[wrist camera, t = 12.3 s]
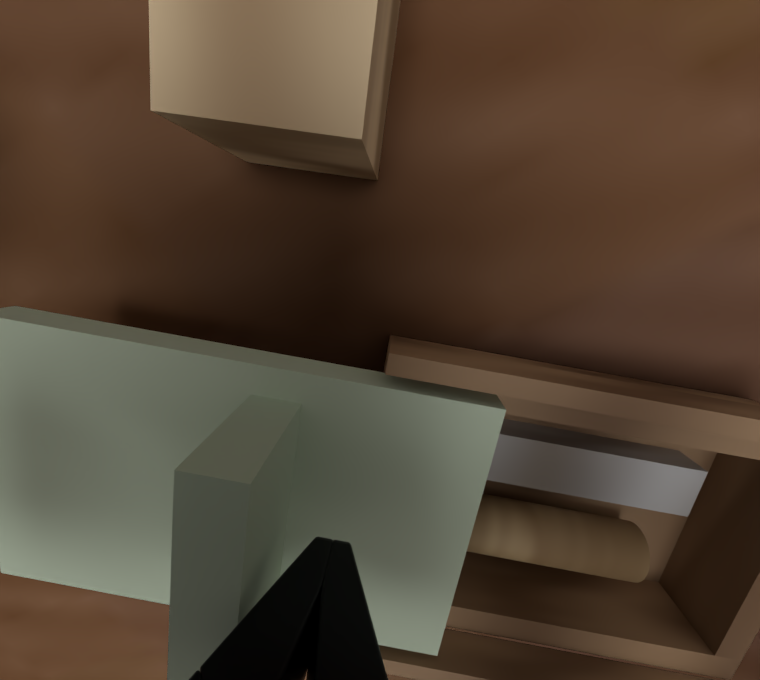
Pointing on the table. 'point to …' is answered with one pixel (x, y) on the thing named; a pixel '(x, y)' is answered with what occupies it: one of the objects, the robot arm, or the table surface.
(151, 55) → the block
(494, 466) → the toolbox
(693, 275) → the table surface
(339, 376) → the lid
